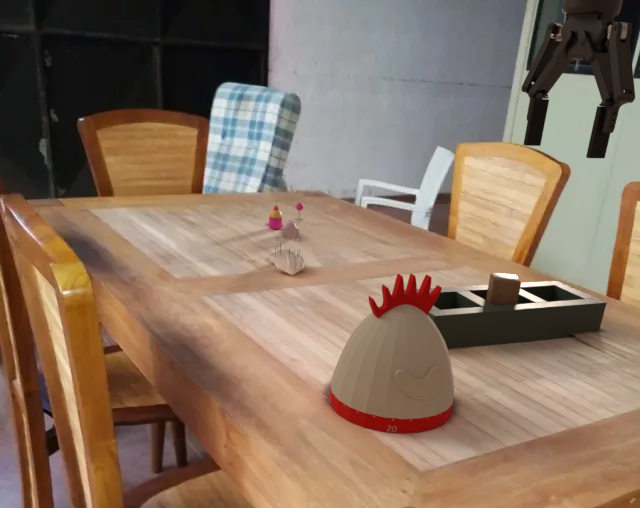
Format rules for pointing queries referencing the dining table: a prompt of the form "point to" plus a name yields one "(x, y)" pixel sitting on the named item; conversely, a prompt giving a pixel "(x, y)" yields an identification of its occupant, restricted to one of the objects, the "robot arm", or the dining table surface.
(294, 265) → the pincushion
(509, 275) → the wooden block
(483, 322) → the socket bar
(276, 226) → the toys
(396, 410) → the kitchen timer
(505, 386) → the dining table surface
